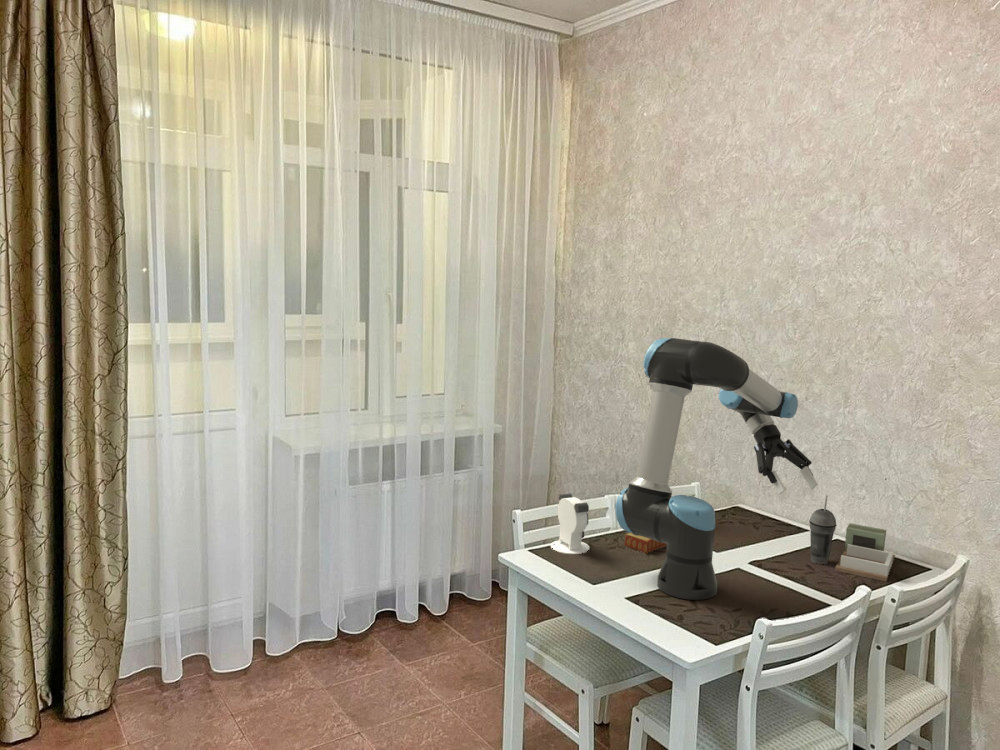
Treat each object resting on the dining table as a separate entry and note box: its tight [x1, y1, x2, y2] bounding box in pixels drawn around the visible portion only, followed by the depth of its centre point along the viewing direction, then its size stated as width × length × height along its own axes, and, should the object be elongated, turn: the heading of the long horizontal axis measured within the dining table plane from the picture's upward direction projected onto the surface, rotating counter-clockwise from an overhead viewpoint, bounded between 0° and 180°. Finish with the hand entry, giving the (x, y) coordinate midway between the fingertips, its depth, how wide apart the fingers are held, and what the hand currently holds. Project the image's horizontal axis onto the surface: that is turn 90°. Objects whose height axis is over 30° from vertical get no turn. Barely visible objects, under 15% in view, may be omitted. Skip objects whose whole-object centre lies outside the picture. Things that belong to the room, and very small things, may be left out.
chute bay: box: [840, 544, 894, 577], centre depth 221 cm, size 12×12×3 cm
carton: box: [624, 532, 667, 554], centre depth 235 cm, size 8×16×4 cm, turn 135°
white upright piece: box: [550, 493, 590, 555], centre depth 228 cm, size 12×11×15 cm
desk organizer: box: [834, 522, 896, 582], centre depth 223 cm, size 22×13×8 cm, turn 148°
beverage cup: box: [809, 495, 837, 565], centre depth 223 cm, size 7×7×20 cm
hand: (798, 489), depth 231 cm, fingers open, 13 cm apart
